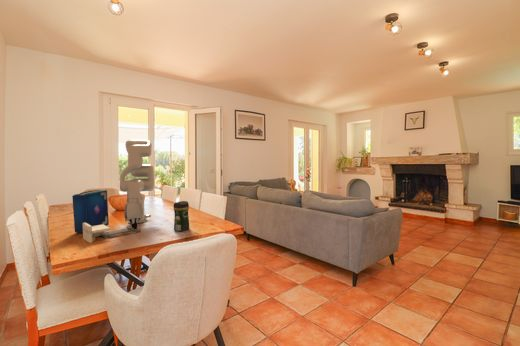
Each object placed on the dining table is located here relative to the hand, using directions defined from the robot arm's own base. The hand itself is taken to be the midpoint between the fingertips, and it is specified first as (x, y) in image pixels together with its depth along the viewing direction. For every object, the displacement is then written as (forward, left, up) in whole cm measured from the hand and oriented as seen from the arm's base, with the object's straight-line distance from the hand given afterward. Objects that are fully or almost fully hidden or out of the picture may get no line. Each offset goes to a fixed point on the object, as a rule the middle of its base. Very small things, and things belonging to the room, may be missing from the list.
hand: (134, 229), depth 163 cm
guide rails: (+7, 0, -1) cm, 7 cm away
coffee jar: (-22, +20, -1) cm, 29 cm away
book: (+17, -24, -1) cm, 30 cm away
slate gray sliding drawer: (+10, 0, -2) cm, 10 cm away
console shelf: (+20, 0, -1) cm, 20 cm away
